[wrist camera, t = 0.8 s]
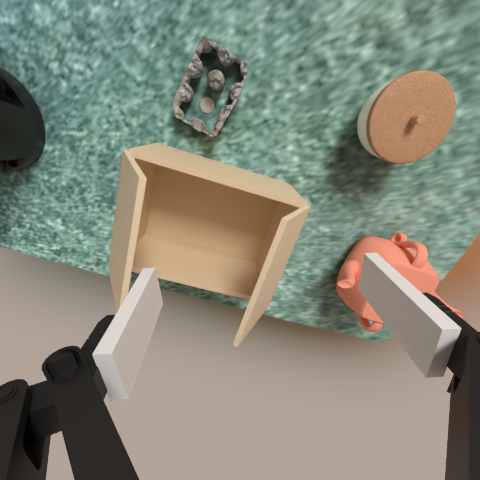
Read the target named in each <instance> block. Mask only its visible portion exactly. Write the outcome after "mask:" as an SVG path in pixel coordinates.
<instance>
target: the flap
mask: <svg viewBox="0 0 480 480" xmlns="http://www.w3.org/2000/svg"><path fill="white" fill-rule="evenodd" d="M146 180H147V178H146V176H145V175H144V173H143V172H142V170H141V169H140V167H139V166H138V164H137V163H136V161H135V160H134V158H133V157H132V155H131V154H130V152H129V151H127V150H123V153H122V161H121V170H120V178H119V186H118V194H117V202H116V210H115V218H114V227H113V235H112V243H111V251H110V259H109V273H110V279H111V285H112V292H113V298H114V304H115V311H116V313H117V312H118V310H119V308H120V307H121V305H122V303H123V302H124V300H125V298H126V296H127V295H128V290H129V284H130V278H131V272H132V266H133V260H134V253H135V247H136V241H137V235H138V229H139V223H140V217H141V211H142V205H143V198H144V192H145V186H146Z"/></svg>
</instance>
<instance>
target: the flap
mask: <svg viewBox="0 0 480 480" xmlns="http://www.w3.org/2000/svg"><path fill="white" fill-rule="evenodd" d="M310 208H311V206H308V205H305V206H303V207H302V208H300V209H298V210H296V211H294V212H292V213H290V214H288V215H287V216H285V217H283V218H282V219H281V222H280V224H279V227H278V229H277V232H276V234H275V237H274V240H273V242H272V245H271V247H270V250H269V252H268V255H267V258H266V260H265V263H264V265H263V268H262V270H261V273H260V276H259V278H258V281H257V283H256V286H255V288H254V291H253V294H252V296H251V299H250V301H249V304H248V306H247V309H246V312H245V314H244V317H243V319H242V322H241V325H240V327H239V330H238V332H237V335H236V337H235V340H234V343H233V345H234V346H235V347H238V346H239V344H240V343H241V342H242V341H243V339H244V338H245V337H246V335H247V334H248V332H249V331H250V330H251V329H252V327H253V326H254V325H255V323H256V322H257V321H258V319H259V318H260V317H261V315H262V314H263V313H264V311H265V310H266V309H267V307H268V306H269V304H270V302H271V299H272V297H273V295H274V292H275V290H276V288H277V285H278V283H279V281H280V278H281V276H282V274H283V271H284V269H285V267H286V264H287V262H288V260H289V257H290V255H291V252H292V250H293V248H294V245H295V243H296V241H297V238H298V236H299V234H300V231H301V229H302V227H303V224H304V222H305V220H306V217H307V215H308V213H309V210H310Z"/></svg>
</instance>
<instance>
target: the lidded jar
mask: <svg viewBox="0 0 480 480" xmlns="http://www.w3.org/2000/svg"><path fill="white" fill-rule="evenodd" d="M455 108H456V103H455V96H454V92H453V90H452V87H451V85H450V84H449V83H448V81H447V80H446V79H445V78H444V77H443V76H441V75H439V74H437V73H435V72H432V71H425V70H422V71H414V72H411V73H407V74H404V75H402V76H400V77H398V78H395V79H393V80H391V81H389V82H387V83H385V84H384V85H382V86H381V87H379V88H378V89H377V90H376V91H375V92H373V93H372V94H371V95H370V96H369V98H368V99H367V100H366V102H365V103H364V105H363V107H362V109H361V111H360V113H359V116H358V121H357V133H358V137H359V140H360V142H361V144H362V146H363V147H364V148H365V149H366V150H367V151H368V152H369V153H371V154H372V155H374V156H376V157H378V158H380V159H383V160H385V161H388V162H391V163H397V164H405V163H411V162H415V161H417V160H420V159H422V158H423V157H425V156H427V155H428V154H430V153H431V152H432V151H433V150H435V149H436V148H437V147H438V146H439V145H440V143H441V142H442V141H443V140H444V138H445V137H446V135H447V134H448V132H449V130H450V128H451V125H452V123H453V120H454V115H455Z"/></svg>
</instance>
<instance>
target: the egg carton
mask: <svg viewBox="0 0 480 480" xmlns="http://www.w3.org/2000/svg"><path fill="white" fill-rule="evenodd" d="M212 49H215V50H217V55H218V57H219V61H220V63H221V64H222V65H223V66H225V67H229V66H231V65H232V64H233V63H234V62H236V63H238V64H240V65H241V66H240V73H241V75H242V77H243V80H242V82H240V83H235V84H233V85H232V86H231V87H230V89H229V95H230V98H231V100H232V101H233V102H232V104H231V105H226V106H225V107H224V108H222V109H221V110H220V112H219V113H218V119H219V120H218V122H217V124H216V126H215V127H214V128H213V130H211V131H209V132H207V131H205V124H204V122H203V121H202V120H200V119H192V120H191V121H190V122H188V121H186V120H185V113H184V112H183V110H182V109H181V108H180V107H181V104H182V102H190V101H191V100H192V99H193V96H194V92H193V89H192V88H191V86H190V85H189V83H190V81H191V78H199V77H201V76H202V74H203V65H202V62H201V60H200V59H199V57H200V55H201V53H209V52H210V51H211V50H212ZM248 67H249V66H248V65H247V64H246V63H244V62H243V61H241V60H240V59H238V58H237V57H236V56H234V55H233V54H231V53H230V52H228V51H227V50H225V49H224V48H222V47H221V46H219V45H218V44H216V43H215V42H213V41H212V40H210V39H208V38H206V37H204V36H203V37H202V38H201V40H200V42H199V44H198V46H197V49H196V51H195V54H194V56H193V58H192V60H191V62H190V64H189V66H188V68H187V70H186V73H185V75H184V78H183V80H182V82H181V85H180V87H179V89H178V91H177V93H176V96H175V98H174V102H173V107H174V115H175V116H176V117H177V118H179V119H181V120H182V121H184V122H185V123H187V124H189V125H191V126H193V128H195V129H196V130H198V131H199V132H204V133H206V134H208V135H209V136H211V137H213V138H215V137H216V136H217V134H218V132H219V130H222V128H223V126H224V124H223V123H224V121H225V120H226V118H227V117H228V116H229V114H230V112H231V110H232V108H233V106H234V105H235V103H236V101H237V100H238V98H239V95H240V93H241V90H242V87H243V84H244V81H245V78H246V75H247V70H248ZM207 78H208V84H209V86H210V87H211V89H213V90H215V91H219V90H221V89H222V88H223V87H224V84H225V79H224V75H223V74H222V72H221V71H219V70H212V71H211V72H209V74H208V76H207ZM199 106H200V109H201V111H202V112H203V113H206V114H209V113H211V112H212V111H213V110H214V108H215V107H214V106H215V104H214V101H213V99H212V98H210V97H204V98H202V99H201V101H200V104H199Z"/></svg>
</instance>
